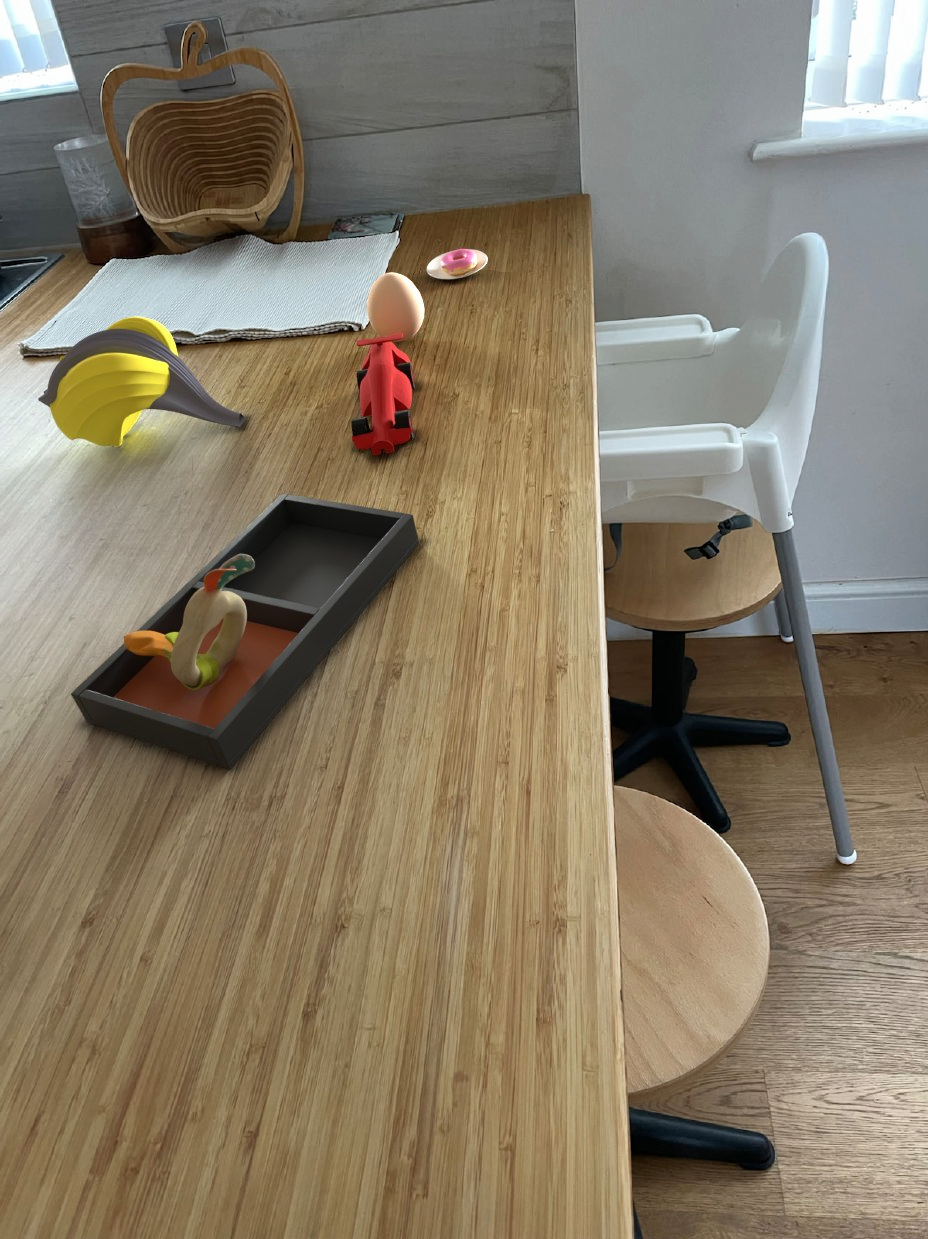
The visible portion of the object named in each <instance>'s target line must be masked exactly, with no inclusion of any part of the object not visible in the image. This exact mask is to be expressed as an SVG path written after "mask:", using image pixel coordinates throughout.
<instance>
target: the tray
mask: <svg viewBox="0 0 928 1239" xmlns="http://www.w3.org/2000/svg"><path fill="white" fill-rule="evenodd" d="M417 531H418V530H417V528H416V523H415V518H414V514H411V513H406V512H400V511H393V510H388V509H380V508H374V507H368V506H362V505H356V504H350V503H343V502H337V501H332V500H331V501H330V500H325V499H320V498H319V499H318V498H314V497H313V498H312V497H306V496H299V495H294V494H286V493H281V494H280V495H279V496H278V497H277V498H276V499H275V500H274V501H272V503H270V504H269V505H268V506H267V507H266V508H265V509H264V510H263V511H262V512H261V513H260V514H258V515H257V516H256V518H254V519H253V521H251V522H250V523H249V524H248V525H247V526H246V527H245V528H244V529H243V530H242V531H241V532H240V533H239V534H238V535H236V536H235V537H234V538H233V540H231V541H230V542H229V543H228V544H227V545H226V546H225V547H224V548H223V549H222V550H221V551H219V553H218V554H216V555H215V556H214V557H213V558H212V559H211V560H210V561H209V562H208V563H207V564H206V565H205V566H204V567H203V568H202V569H200V571H198V572H197V573H196V574H195V575H194V576H193V577H192V578H191V579H190V580H189V581H188V582H187V583H185V585H184V586H182V588H180V590H179V591H178V592H176V593H175V594H174V595H173V596H172V597H171V598H170V599H168V600H167V602H165V604H163V606H162V607H161V608H159V609H158V611H156V612H154V614H153V615H152V616H151V617H150V618H149V619H147V620H146V622H144V624H143V625H141V626H140V627H139V628H138V629H137V630H136V631H154V632H158V633H161V634H164V635H166V634H168V633H172V632H178V633H179V631H180V629H181V628H182V625H183V618H184V612H185V608H186V606H187V604H188V602H189V600H190V599H191V597H192V596H193V595H194V593H195V592H196V591H197V590H199V589H200V588H202V587H204V583H203V582H204V577H205V575H206V574H207V573H209V572H210V571H212V570H215V569H219V568H220V567H221V566H222V565H223V564H224V563H225V562H226V561H228V560H229V559H231V558H233V557H234V556H236V555H238V554H246V555H249V556H252V558H253V560H254V561H255V566H254V569H252V570H251V571H248V572H245V573H243V574H240V575H238V576H237V577H235V578H234V579H232V580H231V581H229V582H228V583H226V584H225V585H224V587H223V588H222V590H221V591H229V592H232V593H235V594H236V595H238V596H239V597H241V599H242V600H243V601H244V603H245V606H246V611H247V620H246V626H245V630H244V633H243V636H242V639H241V641H240V644H239V647H238V651H237V654H236V656H235V657H234V659H233V660H232V661H231V662H229V663H228V664H227V665H226V666H225V667H224V668H223V669H222V670H221V671H220V674H219V678H218V679H217V680H216V681H214V682H213V683H212V684H210V685H208V686H204V687H202V688H199V689H197V690H191V689H188V688H187V687H185V686H184V685H183V684H182V683H181V682H180V680H178V679H177V678H176V677H175V675H174V674H173V672H172V669H171V662H170V659H168V658H167V657H164V656H142V655H137V654H135V653H133V652H131V651H129V650H128V649H127V648H126V647H125V645H124V643H122V644H121V645H120V646H119V647H118V648H117V649H116V650H115V651H114V652H113V653H112V654H111V655H109V657H108V658H107V659H105V661H103V662H102V663H101V664H100V665H99V666H98V667H97V668H96V669H95V670H93V672H92V673H91V674H90V675H88V676H87V677H86V678H85V680H83V681H82V682H81V683H80V684H79V685H78V686H77V687H76V688H75V689H74V690H73V691H72V692H71V693H70V696H71V698H72V699H73V701H74V702H75V704H76V706H77V708H78V709H79V711H80V713H81V714H82V716H83V718H84V720H85V722H86V723H87V724H89V725H94V726H96V727H99V728H103V729H106V730H109V731H111V732H115V733H117V734H121V735H124V736H127V737H130V738H132V739H136V740H139V741H141V742H145V743H148V744H151V745H155V746H158V747H160V748H164V749H167V750H170V751H172V752H176V753H178V754H181V755H185V756H188V757H191V758H194V759H197V760H200V761H204V762H206V763H209V764H212V765H216V766H219V767H221V768H224V769H228V770H232V769H233V767H235V765H236V763H237V762H238V761H239V760H240V759H241V758H242V756H244V754H245V753H246V752H247V750H248V749H249V748H250V747H251V746H252V745H253V743H254V742H255V741H256V740H257V739H258V737H259V736H260V735H261V734H262V733H263V732H264V730H265V729H266V728H267V726H269V724H270V723H271V722H272V721H273V719H274V718H275V717H276V716H277V715H278V714H279V712H280V711H281V710H282V709H283V708H284V706H285V705H286V704H287V703H288V701H289V700H290V699H291V698H292V697H293V695H294V694H295V693H296V692H297V691H298V690H299V688H300V687H301V686H302V684H303V683H305V681H306V680H307V679H308V678H309V677H310V675H311V674H312V673H313V672H314V670H315V669H316V668H317V667H318V665H320V663H321V662H322V661H323V659H324V658H325V657H326V656H327V655H328V653H329V652H330V651H331V650H332V649H333V648H334V647H335V645H336V644H337V643H338V642H339V640H340V639H341V638H342V637H343V635H344V634H346V632H347V631H348V630H349V629H350V627H351V626H352V625H353V624H354V622H355V621H356V620H357V619H358V618H359V617H360V616H361V614H362V613H363V612H364V610H365V609H366V608H367V607H368V606H369V605H370V603H371V602H372V601H373V600H374V598H375V597H376V596H377V595H378V594H379V593H380V592H381V590H382V589H383V588H384V587H385V586H386V585H387V583H388V582H389V581H390V580H391V578H392V577H393V576H394V575H395V574H396V572H397V571H398V570H399V569H400V567H401V566H402V565H403V564H404V563H405V562H406V560H407V559H408V558H409V557H410V556H411V555H412V553H413V552H414V551H415V549H416V548H417V547H418V546H419V545H420V539H419V536H418V532H417ZM223 619H224V617H223V618H222V620H221V621H220V622H219V624H218V625H217V626H216V627H215V628H214V629H212V630H211V631H209V632H208V633H207V634H206V636H205V637H204V638H203V640H202V642H201V645H200V647H199V650H198V653H197V654H206V653H207V652H208V650H209V649H210V647H211V645H212V643H213V641H214V640H215V639H216V637H217V636H218V634H219V633H220V630H221V628H222V625H223Z"/></svg>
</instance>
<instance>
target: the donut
mask: <svg viewBox="0 0 928 1239" xmlns="http://www.w3.org/2000/svg"><path fill="white" fill-rule="evenodd" d="M486 264H488V256H487V254H486V253H485V252H483V251H481V250H477V249H473V248H472V249H471V248H458V249H456V250H451V251H447V252H445V253H442V254H440V255H437V256H436V257H434V258H433V259H432V260H431V261H430V262H429V263H428V264H427V266H426V272H427V274H428V275H429V277H433V278H434V279H438V280H458V279H462V278H463V279H464V278H466V277H469V276H472V275H474V274H475V273H478V272H479V271H481V270H482V269H483V268H485V266H486Z"/></svg>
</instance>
